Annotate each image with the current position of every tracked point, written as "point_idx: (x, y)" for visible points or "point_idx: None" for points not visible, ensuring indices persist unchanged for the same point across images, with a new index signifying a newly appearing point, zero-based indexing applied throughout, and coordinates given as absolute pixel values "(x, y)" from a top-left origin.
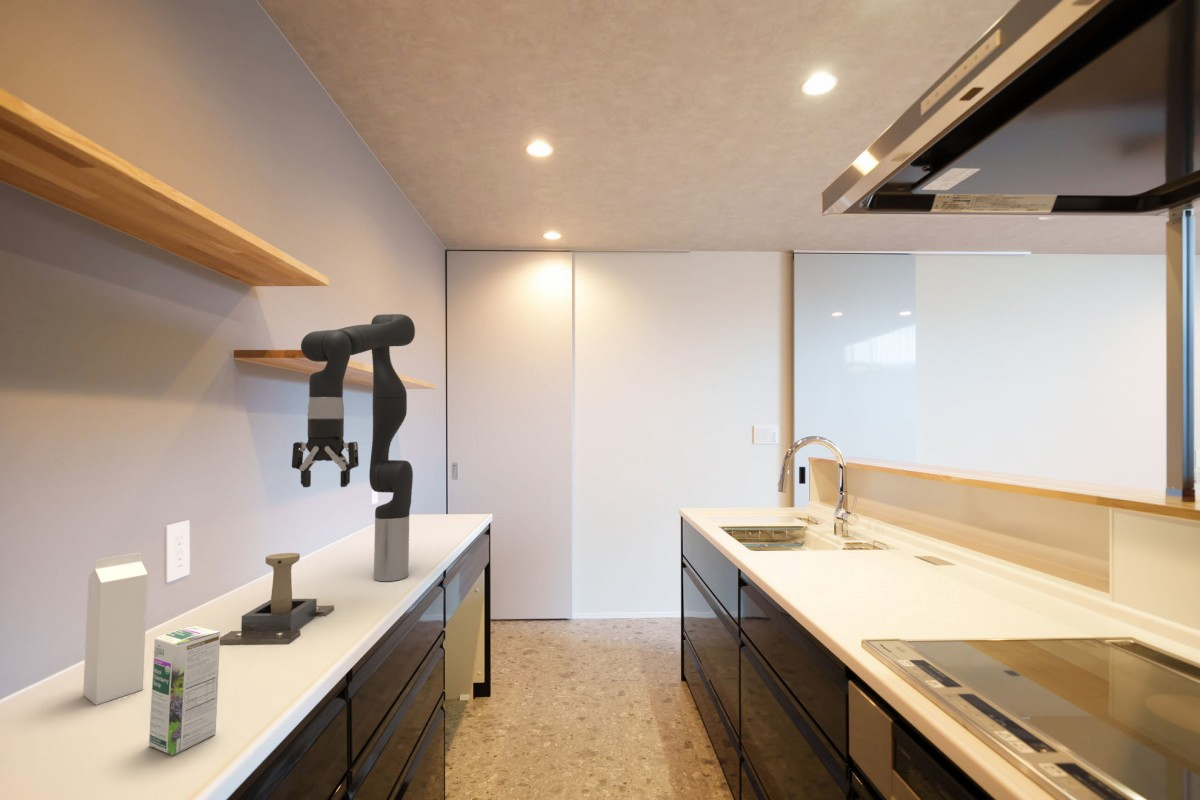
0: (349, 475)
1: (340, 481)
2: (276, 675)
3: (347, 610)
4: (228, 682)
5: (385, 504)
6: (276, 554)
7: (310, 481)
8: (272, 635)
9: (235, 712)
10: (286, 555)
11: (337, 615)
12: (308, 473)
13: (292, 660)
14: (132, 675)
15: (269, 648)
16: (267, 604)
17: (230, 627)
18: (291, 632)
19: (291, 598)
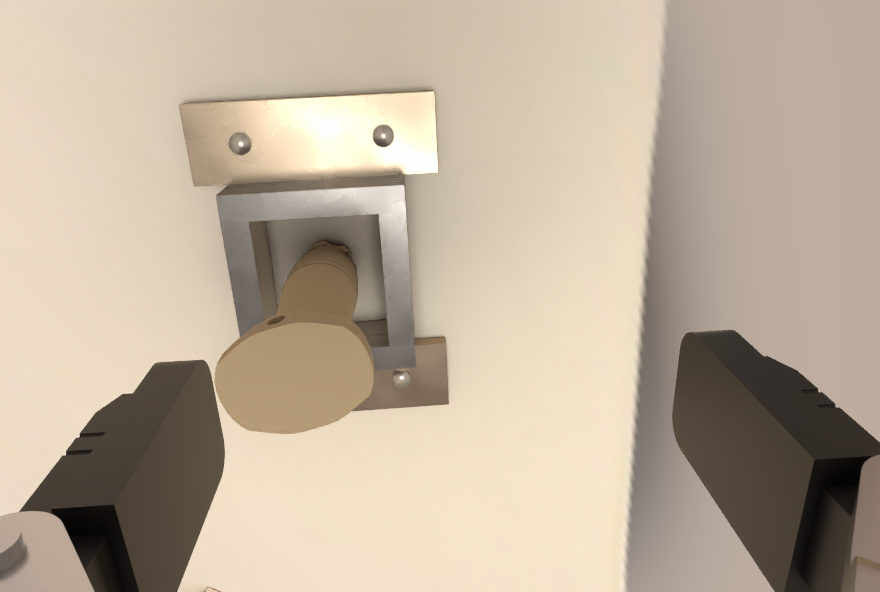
0: (853, 437)
1: (701, 480)
2: (520, 547)
3: (490, 95)
4: (434, 578)
5: None
6: (240, 357)
7: (186, 393)
8: (383, 384)
9: None
10: (309, 372)
11: (476, 154)
12: (152, 542)
13: (515, 482)
14: None
15: (410, 423)
16: (247, 261)
17: (164, 283)
18: (427, 360)
19: (354, 288)
